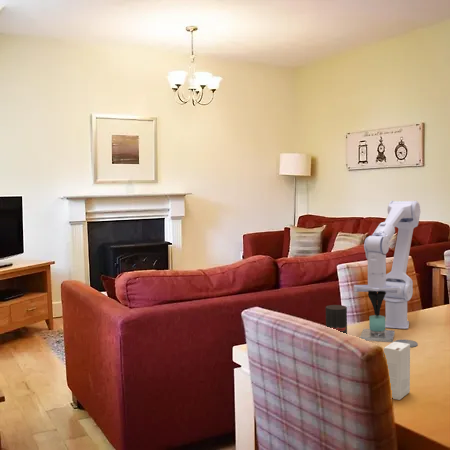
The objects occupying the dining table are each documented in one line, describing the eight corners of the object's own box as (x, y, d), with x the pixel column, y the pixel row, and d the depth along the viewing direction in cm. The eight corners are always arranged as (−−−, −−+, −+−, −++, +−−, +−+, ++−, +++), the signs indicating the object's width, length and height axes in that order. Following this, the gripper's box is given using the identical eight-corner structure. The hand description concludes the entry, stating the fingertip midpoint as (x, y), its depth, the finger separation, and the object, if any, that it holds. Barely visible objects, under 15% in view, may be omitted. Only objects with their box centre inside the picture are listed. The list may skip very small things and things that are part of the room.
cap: (370, 326, 181) (370, 313, 181) (386, 327, 179) (385, 313, 179) (368, 330, 177) (368, 316, 176) (384, 331, 175) (384, 317, 174)
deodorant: (347, 362, 155) (346, 309, 153) (326, 361, 156) (325, 309, 155) (347, 355, 160) (346, 305, 159) (326, 354, 162) (325, 304, 160)
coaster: (394, 340, 174) (394, 338, 174) (417, 341, 171) (417, 340, 171) (393, 346, 167) (393, 345, 167) (417, 348, 165) (417, 347, 165)
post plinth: (363, 331, 185) (363, 324, 184) (394, 333, 181) (394, 326, 181) (359, 339, 175) (359, 332, 175) (392, 342, 172) (392, 334, 172)
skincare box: (393, 388, 134) (392, 340, 133) (411, 393, 131) (410, 343, 130) (382, 396, 129) (382, 346, 128) (400, 401, 127) (400, 350, 126)
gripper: (352, 274, 175) (352, 315, 176) (399, 275, 170) (399, 318, 171) (355, 270, 182) (355, 310, 183) (400, 271, 177) (401, 313, 178)
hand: (377, 314), depth 178 cm, fingers closed
